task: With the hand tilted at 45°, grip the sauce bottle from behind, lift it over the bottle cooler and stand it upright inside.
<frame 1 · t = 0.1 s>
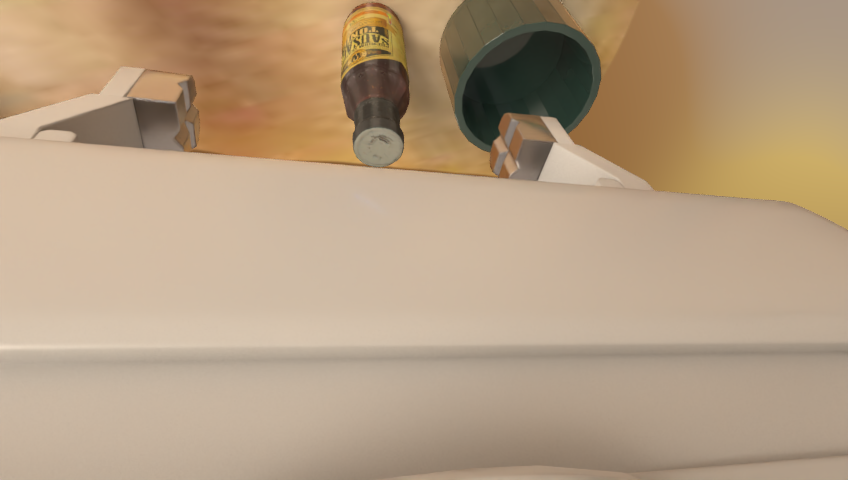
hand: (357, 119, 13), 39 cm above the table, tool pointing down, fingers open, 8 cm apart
bottle cooler: (503, 48, 53), on the table
sauce bottle: (370, 29, 50), on the table
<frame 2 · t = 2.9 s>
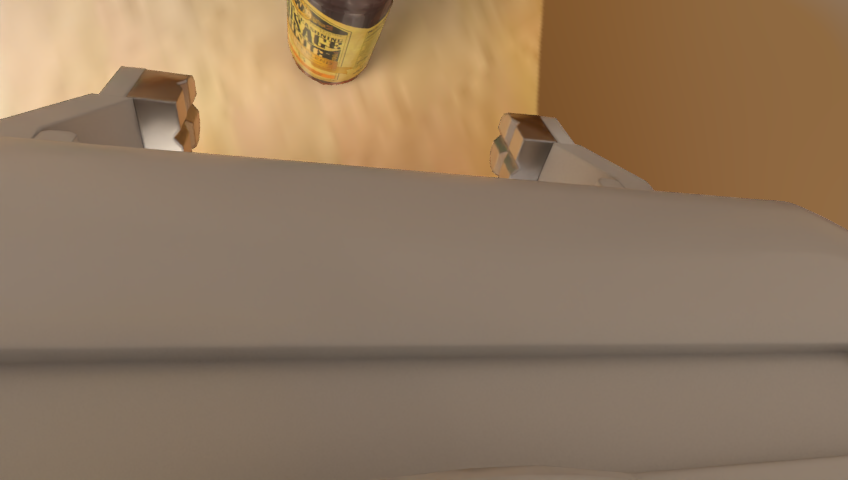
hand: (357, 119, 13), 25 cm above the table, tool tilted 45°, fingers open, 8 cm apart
sauce bottle: (331, 54, 37), on the table
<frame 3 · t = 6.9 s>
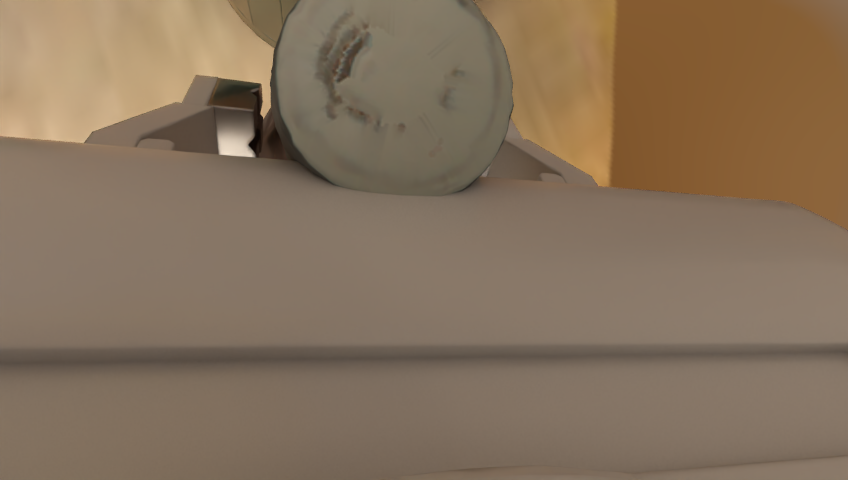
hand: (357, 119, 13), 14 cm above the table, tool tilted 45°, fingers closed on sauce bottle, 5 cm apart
sauce bottle: (330, 205, 27), on the table, touching gripper
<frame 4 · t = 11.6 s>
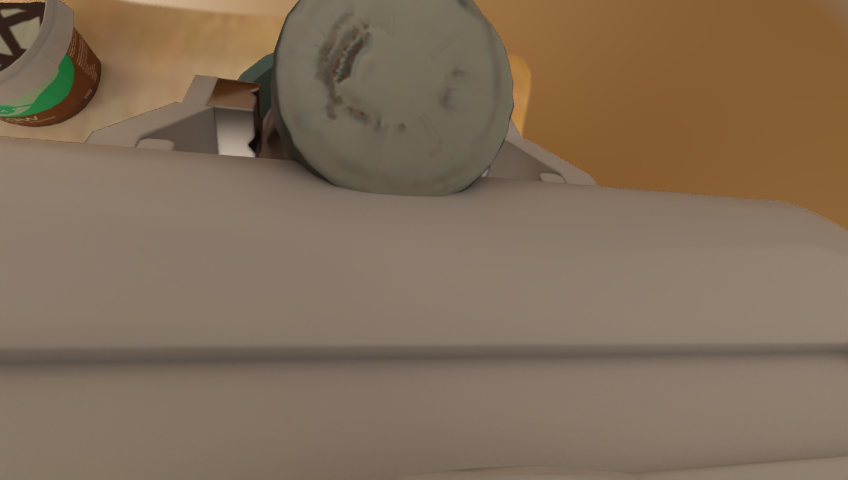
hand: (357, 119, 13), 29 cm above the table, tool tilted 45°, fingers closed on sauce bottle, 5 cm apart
bottle cooler: (325, 176, 41), on the table
sauce bottle: (330, 205, 27), point 15 cm above the table, touching gripper
food container: (37, 103, 36), on the table
when the fingers open (15 cm above the table, at t = 16.2 s): sauce bottle stays where it is, resting on bottle cooler.
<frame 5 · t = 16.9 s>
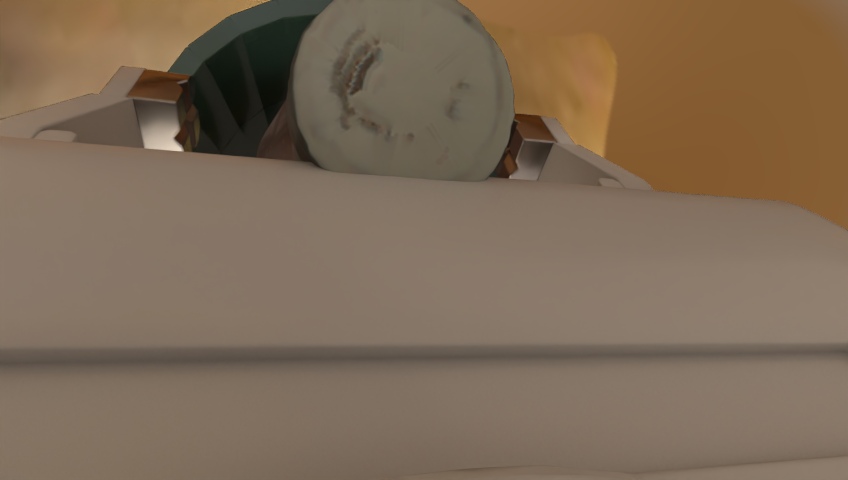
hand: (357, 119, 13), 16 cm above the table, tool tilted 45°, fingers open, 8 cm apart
bottle cooler: (330, 207, 28), on the table
sauce bottle: (331, 206, 27), point 1 cm above the table, touching bottle cooler
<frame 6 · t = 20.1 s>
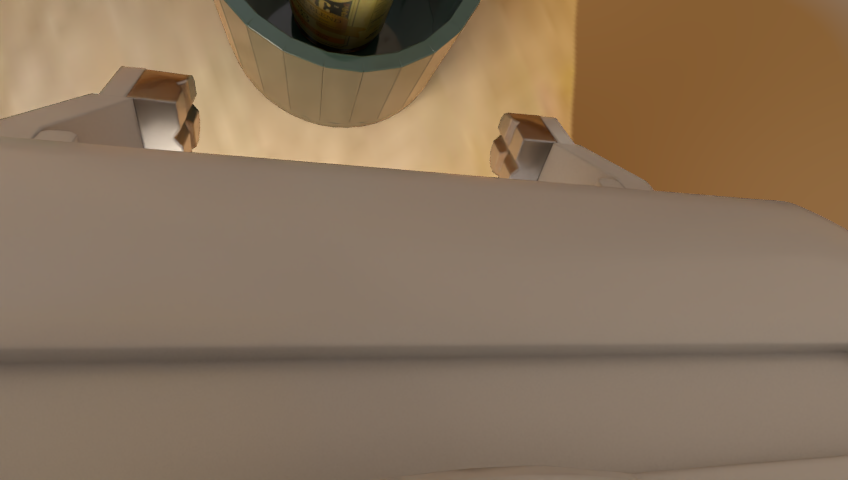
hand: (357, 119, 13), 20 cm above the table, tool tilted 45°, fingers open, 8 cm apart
bottle cooler: (338, 23, 33), on the table
sauce bottle: (339, 18, 32), point 1 cm above the table, touching bottle cooler
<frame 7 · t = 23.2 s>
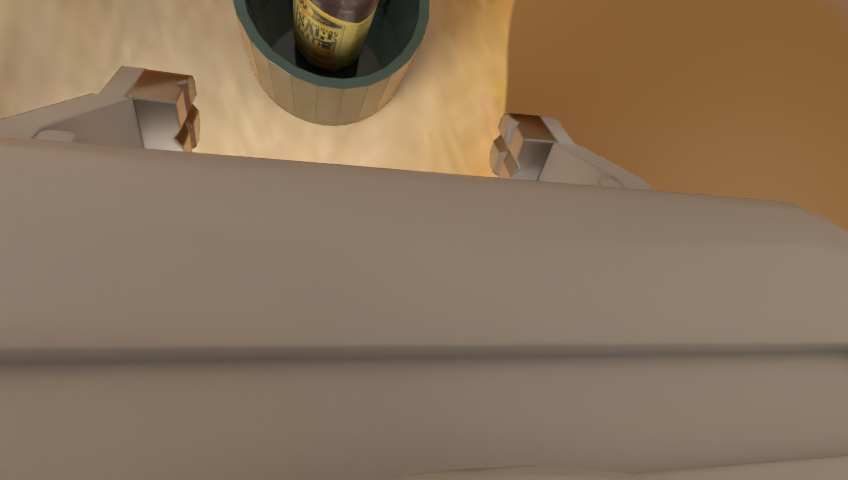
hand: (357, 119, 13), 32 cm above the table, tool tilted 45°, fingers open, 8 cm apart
bottle cooler: (328, 50, 45), on the table
sauce bottle: (329, 46, 44), point 1 cm above the table, touching bottle cooler
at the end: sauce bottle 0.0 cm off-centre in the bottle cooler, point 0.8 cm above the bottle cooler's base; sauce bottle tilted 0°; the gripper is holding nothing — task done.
